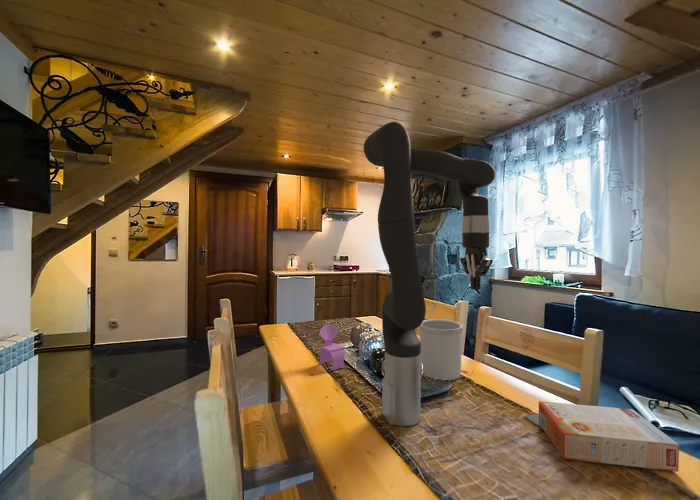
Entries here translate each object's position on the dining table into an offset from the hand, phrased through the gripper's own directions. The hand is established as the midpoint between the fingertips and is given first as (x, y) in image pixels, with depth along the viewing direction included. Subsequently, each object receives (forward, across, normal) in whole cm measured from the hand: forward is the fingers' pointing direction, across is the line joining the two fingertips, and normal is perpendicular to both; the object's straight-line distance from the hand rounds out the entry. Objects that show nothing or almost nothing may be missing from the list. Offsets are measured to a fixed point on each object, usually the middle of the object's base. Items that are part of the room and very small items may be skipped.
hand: (475, 289), depth 96 cm
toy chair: (+32, -34, -38) cm, 60 cm away
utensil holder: (+32, -18, -2) cm, 37 cm away
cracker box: (+29, +24, +2) cm, 37 cm away
